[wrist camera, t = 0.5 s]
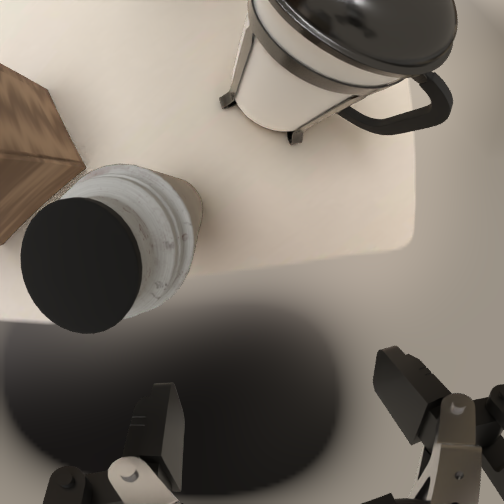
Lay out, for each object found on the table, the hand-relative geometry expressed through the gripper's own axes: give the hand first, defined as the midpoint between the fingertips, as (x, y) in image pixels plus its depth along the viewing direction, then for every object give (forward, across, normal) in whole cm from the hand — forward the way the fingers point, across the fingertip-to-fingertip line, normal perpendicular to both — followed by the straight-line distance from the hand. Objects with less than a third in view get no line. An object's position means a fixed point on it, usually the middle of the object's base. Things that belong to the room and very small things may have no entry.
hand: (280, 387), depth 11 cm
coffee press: (+30, -8, -17) cm, 35 cm away
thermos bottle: (+28, +8, -4) cm, 30 cm away
